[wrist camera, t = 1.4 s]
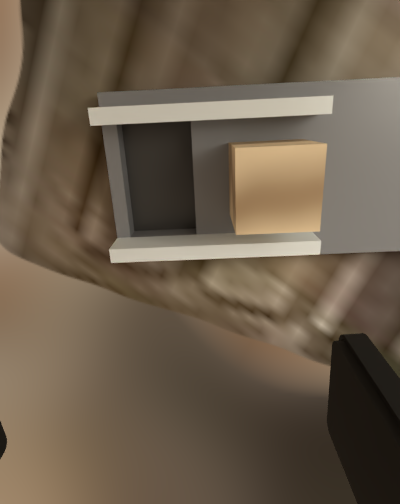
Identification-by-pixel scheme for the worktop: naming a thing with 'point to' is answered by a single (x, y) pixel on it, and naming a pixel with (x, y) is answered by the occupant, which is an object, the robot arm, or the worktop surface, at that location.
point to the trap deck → (217, 166)
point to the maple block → (276, 186)
